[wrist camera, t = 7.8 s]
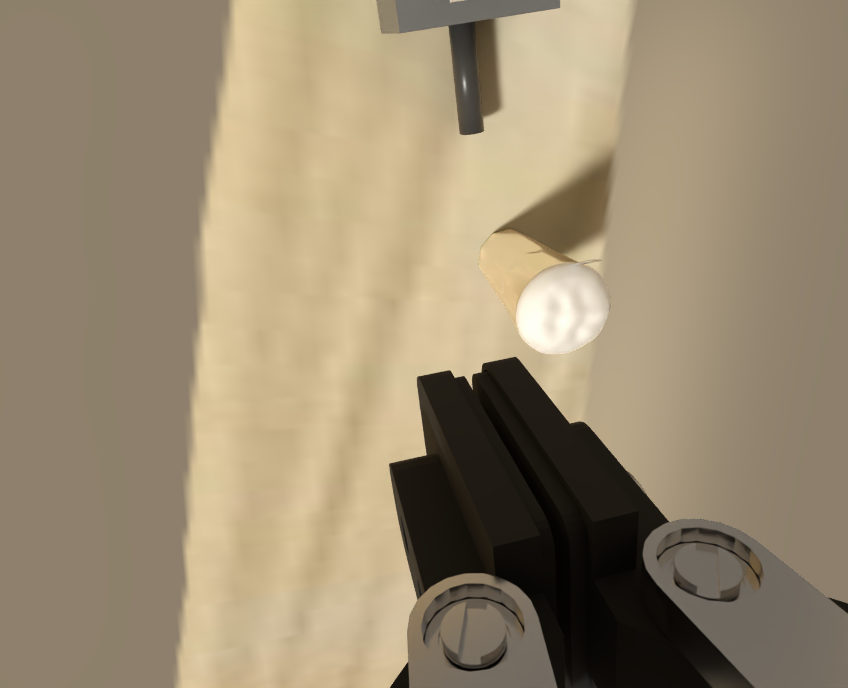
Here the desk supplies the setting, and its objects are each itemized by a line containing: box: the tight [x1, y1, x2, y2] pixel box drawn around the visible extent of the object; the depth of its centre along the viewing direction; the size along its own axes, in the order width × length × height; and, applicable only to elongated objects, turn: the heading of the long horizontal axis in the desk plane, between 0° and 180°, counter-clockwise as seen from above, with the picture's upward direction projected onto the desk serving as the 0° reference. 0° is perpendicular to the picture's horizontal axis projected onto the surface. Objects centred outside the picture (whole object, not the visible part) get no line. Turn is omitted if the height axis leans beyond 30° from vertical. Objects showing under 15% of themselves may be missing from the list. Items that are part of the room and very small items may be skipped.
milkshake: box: [478, 229, 611, 354], centre depth 31 cm, size 4×5×10 cm
